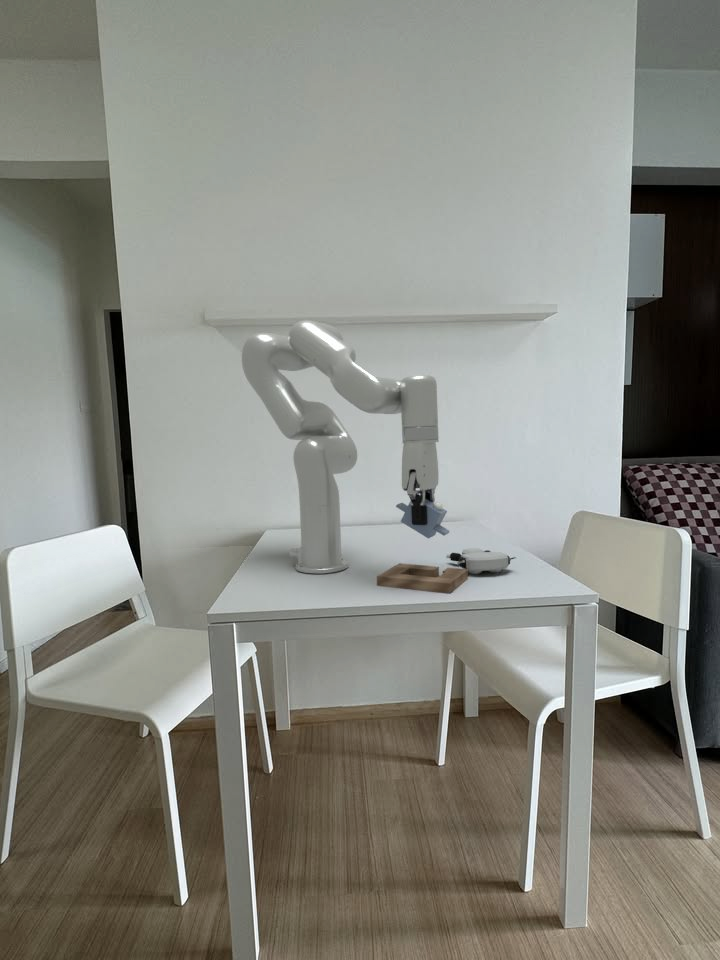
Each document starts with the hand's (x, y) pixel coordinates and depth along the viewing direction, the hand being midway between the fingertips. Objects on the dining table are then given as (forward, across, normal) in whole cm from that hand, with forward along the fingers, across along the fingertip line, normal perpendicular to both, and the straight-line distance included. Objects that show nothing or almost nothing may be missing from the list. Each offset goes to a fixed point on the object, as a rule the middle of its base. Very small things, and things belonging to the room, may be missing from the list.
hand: (423, 522), depth 116 cm
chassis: (+13, 0, -1) cm, 13 cm away
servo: (+1, 0, -1) cm, 2 cm away
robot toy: (+13, -15, +7) cm, 22 cm away
